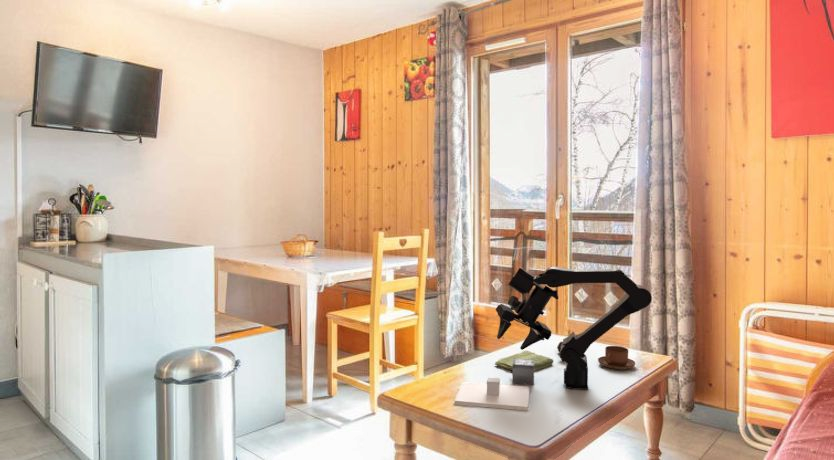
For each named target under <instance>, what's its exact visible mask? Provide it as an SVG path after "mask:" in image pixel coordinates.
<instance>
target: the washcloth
mask: <svg viewBox="0 0 834 460" xmlns="http://www.w3.org/2000/svg"><path fill="white" fill-rule="evenodd" d="M514 358H516V359H532V360H534V372H536V371H539V370H542V369H544V368H548V367H550V366H553V365H552V364H554V360H553V358H551V357H548V356H545V355H542V354H537V353H536V352H532V351H529V350H522V352H518V353H514V354H512V355H509V356H506V357H502V358H499V359H498V360H497V361H495V363H494V365H496V366H497V367H500V368H503V369H506V370H509V371H513V359H514Z"/></svg>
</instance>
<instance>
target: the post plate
mask: <svg viewBox="0 0 834 460" xmlns="http://www.w3.org/2000/svg"><path fill="white" fill-rule="evenodd" d="M529 397H530V386H523V385H511V384H501V379H500V377H499V378H497V377H487V379H486V383H484V382H474V381H473V382H470V381H462V382H461V385H460V387H459V390H458V391H457V394H456V396H455V399H454V405H460V406H471V407H483V408H484V407H485V408H492V409H493V408H495V409H506V410H518V411H529V399H530V398H529Z"/></svg>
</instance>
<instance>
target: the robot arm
mask: <svg viewBox="0 0 834 460" xmlns="http://www.w3.org/2000/svg"><path fill="white" fill-rule="evenodd" d="M574 284H616V285H617V286H618V287H619V288H620V289H621V290H623V292H625V294H623V297H622V298H621V299H620V301H619V302H618V304H616V305H614V306H613V307H612V308H611V309H610V310H609V311H607V312H606V313H605V314H604V315H602V316H601V317H600V318H598V319H597V320H596V321H594V322H593V323H592V324H591V325H590V326H589V327H587V328H586V329H585V330H584V331H582V332H580V333H577V334H575V332H574V331H572V332H571V333H570V334H569V335H568V336H567V337H565V338H563V339H562V342H563V343H562V344H561V357H562V359H563V360H564V361H565V363H566V364H565V368H564V369H563V384H564V385H565V388H566V389H576V390H589V386H588V385H589V384H588V383H589V382H588V381H589V376H588V375H589V367H588V358H587V355H586V354H585V353H586V352H587V351H588V349H589V348H590V346H591V345H592V344H593V343H595V342H596V341H597V340H598V339H600V338H601V337H602V336H603V335H605V334H606V333H607V332H608V331H610V330H611V329H612V328H613V327H615V326H616V325H617V324H619V323H620V322H622V320H624V319H625V318H627V317H628V316H629V315H632V314H635V313H637V312H639V311H642V310H643V309H645V308H648V307H649V306H650V305H651V303H652V301H653V297H652V294H651V292H650V290H648V288H647V287H645V286H644V285H641V284H636V282H634V281H633V280H632V279H631V278H630V277H628V275H626V274H625V273H624V271H623V270H622V269H620V268H614V269H570V268H565V267H560V266H548V268H547V269H545V271H544V272H541V273H540V274H539V273H538V274H536V275H533V274H531V273H530V272H528V271H526V270H525V269H524V268H523V267H519V268H518V269H517V271H516V273H515V274H513V276H512V278H511V279H510V281H509V283H508V285H507V286H508V287H510V288H512V289H513V290H515V291H517V292H518V293H519V294H521V295H526V294H527V295H528V294H529V293H530V294H529V296H528V298H524V299H523V300H522V301H519V297H517V296H515V295H511V296H510V298H508V302H507V305H505V304H503V303H501V304H498V305H497V306H496V308H495V312H497V316H498V317H499V327H498V330H497V335H496V338H497V340H500V339H501V338H502V337H503V336H504V335H505V334H506V332H507V331H508V330H509V328H510V327H511V326H512V323H511V322H513V321H515V322H517V323H519V324H522V325H523V326H526V327H527V328H528V327H529V332H528V334H527V336H526V337H525V338H524V340H523V342H522V344H521V345H520V348H519V349H520V350H521V351H524V350H525V349H526V348H528V347H531V346H532V345H533V344H535V343H538V342H540V341H544V340H547V341H548V340H549V339H550V338H551V336H552V330H551V329H550V328H549V327H548V326H547V324H546V323H543V322H541V321H539V320H538V318H539V317H540V315H541V316H543V315H544V314H545V312H544V310H545V308H546V306H547V305H548V303H549V301H550V300H551V299H552V298H554V299H555V300H559V294H558V291H559V290H558V289H556V288H560V287H565V286H569V285H574ZM543 285H544V286H543ZM534 286H535V287H534ZM533 287H534V288H533ZM552 288H553V289H552ZM554 288H555V289H554ZM532 289H533V290H532ZM531 290H532V291H531Z"/></svg>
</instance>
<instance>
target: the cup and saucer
mask: <svg viewBox="0 0 834 460" xmlns="http://www.w3.org/2000/svg"><path fill="white" fill-rule="evenodd" d="M604 351H605V353H604V354H605V355H604V356H600V357H598V358H597V361H598V363H599V364H600V365H601V366H602V367H606V368H609V369H613V370H628V369H632V368H634V366H636V362H635V360H633V359H632V358H629V349H628V348H626V347H623V346H617V345H609V346H606V347H605V349H604Z"/></svg>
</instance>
